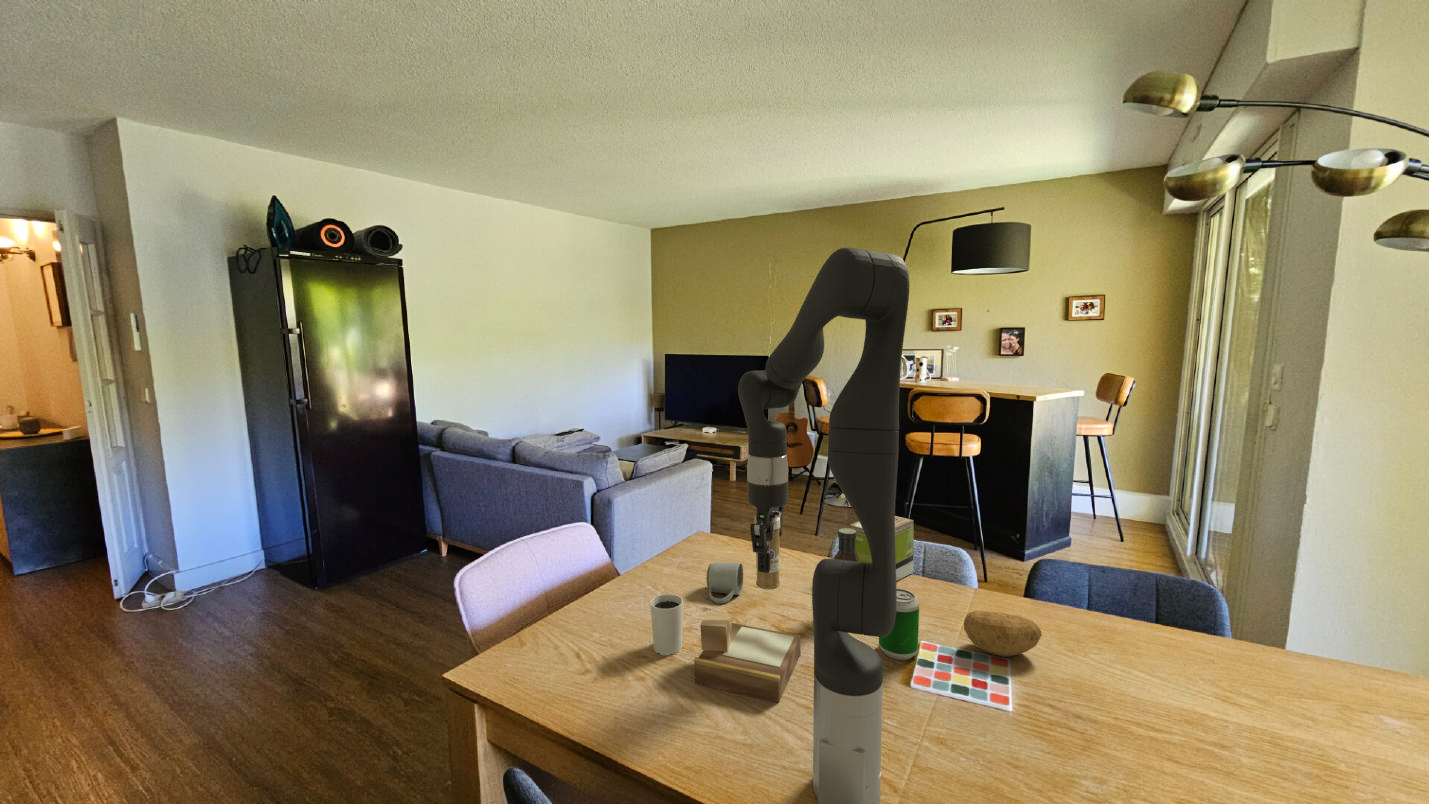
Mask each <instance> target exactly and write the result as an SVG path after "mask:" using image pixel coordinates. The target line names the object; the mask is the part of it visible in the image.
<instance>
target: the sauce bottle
mask: <svg viewBox="0 0 1429 804" xmlns="http://www.w3.org/2000/svg"><path fill="white" fill-rule="evenodd" d="M837 537H838V549H837V550H838V551H837V552H836V554H835V555H834V558H833V559H838V560H847V561H856V562H860V560H859V558H858V555H857V552H856V537H857V534H856V530H853V529H850V527H848V528H847V527H843V528H839V529H838V530H837Z"/></svg>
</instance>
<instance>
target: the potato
mask: <svg viewBox="0 0 1429 804" xmlns="http://www.w3.org/2000/svg"><path fill="white" fill-rule="evenodd" d="M963 629H964V632H965V634H966V635H967V638H968V639H969V640H970V642H972V644H973V645H975V647H977V648H979V649H980V650H982V651H983V652H986V653H989V654H991V655H994V656H997V657H1003V658H1007V657H1013V656H1017V655H1020V654H1023V653H1026V652H1028V651H1030V650H1031V649H1034V648H1035V647H1036V646H1037V645H1038V643H1039V641H1040V640H1041V638H1042V635H1043V634H1042V631H1041V629H1040V627H1039V626H1038V624H1037V623H1036V622H1035V621H1034V620H1032V619H1029V618H1027V617H1025V616H1021V615H1017V614H1012V613H1005V612H1001V611H991V610H990V611H989V610H978V609H976V610H973V611H970V612H969V613H967V614H966V615H965V618H964V620H963Z"/></svg>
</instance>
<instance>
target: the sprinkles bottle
mask: <svg viewBox="0 0 1429 804" xmlns="http://www.w3.org/2000/svg"><path fill="white" fill-rule="evenodd" d="M770 527H771V522H770ZM779 529H780V517H777V520H776V524H775V525H774V530H775V532H774V540H772V541H771V551H770V571H769V572H768V573H765V572H759V571H758V553H756V552H755V554H756V555H755V562H756V564H755V565H756V567H755V568H756V580H755V581H756V582H755V586H757V587H758V588H760V589H761V590H767V591H768V590H770V591H771V590H775V589H778V588H779V586H780V584H781V583H780V569H781V568H780V559H781V558H780V553H781V552H780V551H781V549H780V536H779ZM769 535H770V533H766V536H769ZM761 546H763V545H762V544H761Z"/></svg>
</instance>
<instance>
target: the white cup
mask: <svg viewBox="0 0 1429 804" xmlns="http://www.w3.org/2000/svg"><path fill="white" fill-rule="evenodd" d="M649 603H650V605H649V606H650V615H651V618H650V619H651V629H652V642H653V643H652V644H653V651H654V650H655V651H656V652H657V653H660V654H662V655H661V656H672V655H671V654H674V655H675V653H676V654H678V653H679V652H680V651H682V649H681V648H683V626H684V625H683V621H684V619H683V618H684V600H683V597H682V596H679V595H677V594H673V593H665V594H663V593H662V594H659V595H655V596H654V597H653V598H651V600H650V602H649ZM655 651H654V652H655ZM656 652H655V653H656ZM677 652H678V653H677ZM657 653H656V654H657ZM660 654H659V655H660Z"/></svg>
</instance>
